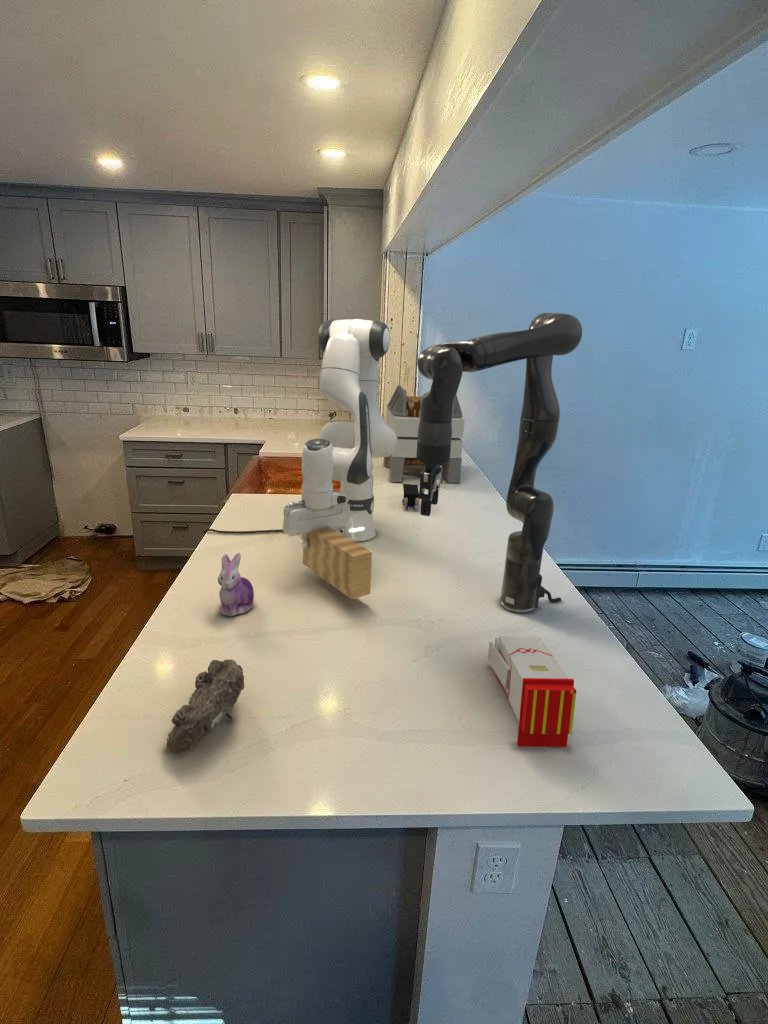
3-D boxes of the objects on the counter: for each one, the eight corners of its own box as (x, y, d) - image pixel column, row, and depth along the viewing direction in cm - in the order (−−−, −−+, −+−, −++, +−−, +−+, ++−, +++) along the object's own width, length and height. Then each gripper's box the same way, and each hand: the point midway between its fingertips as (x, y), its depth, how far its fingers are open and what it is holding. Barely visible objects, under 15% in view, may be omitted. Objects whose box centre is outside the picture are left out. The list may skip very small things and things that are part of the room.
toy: (536, 619, 129) (586, 686, 99) (531, 673, 131) (578, 754, 102) (483, 618, 128) (517, 685, 99) (479, 672, 131) (511, 753, 102)
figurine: (223, 621, 140) (219, 566, 135) (214, 602, 149) (210, 550, 144) (260, 613, 144) (258, 559, 139) (250, 595, 153) (247, 544, 148)
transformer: (382, 463, 289) (386, 382, 275) (445, 464, 293) (451, 384, 279) (390, 482, 257) (394, 392, 243) (460, 483, 261) (468, 394, 247)
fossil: (192, 660, 117) (244, 628, 112) (224, 691, 120) (276, 661, 115) (142, 746, 98) (202, 712, 93) (182, 779, 101) (242, 748, 96)
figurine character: (419, 515, 222) (416, 499, 236) (420, 498, 219) (418, 482, 232) (402, 515, 222) (400, 498, 235) (403, 497, 218) (401, 482, 232)
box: (302, 563, 166) (302, 525, 162) (320, 559, 169) (320, 521, 165) (351, 599, 146) (353, 556, 142) (370, 593, 150) (372, 551, 146)
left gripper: (289, 507, 150) (289, 555, 154) (353, 495, 162) (352, 540, 166) (278, 500, 155) (279, 547, 159) (341, 490, 166) (340, 533, 171)
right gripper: (445, 449, 118) (439, 521, 123) (456, 435, 131) (450, 502, 136) (410, 445, 120) (406, 517, 125) (424, 432, 133) (420, 498, 138)
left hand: (317, 543), depth 163 cm, fingers closed on box, 6 cm apart
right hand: (429, 509), depth 131 cm, fingers open, 8 cm apart
